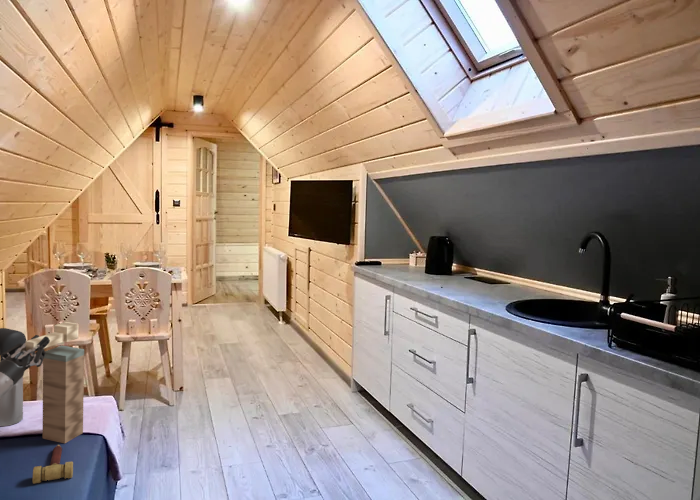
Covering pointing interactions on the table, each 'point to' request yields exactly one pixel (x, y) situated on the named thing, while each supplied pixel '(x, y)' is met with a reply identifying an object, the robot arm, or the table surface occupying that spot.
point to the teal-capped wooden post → (63, 393)
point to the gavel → (53, 468)
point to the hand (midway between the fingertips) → (43, 337)
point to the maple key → (57, 335)
